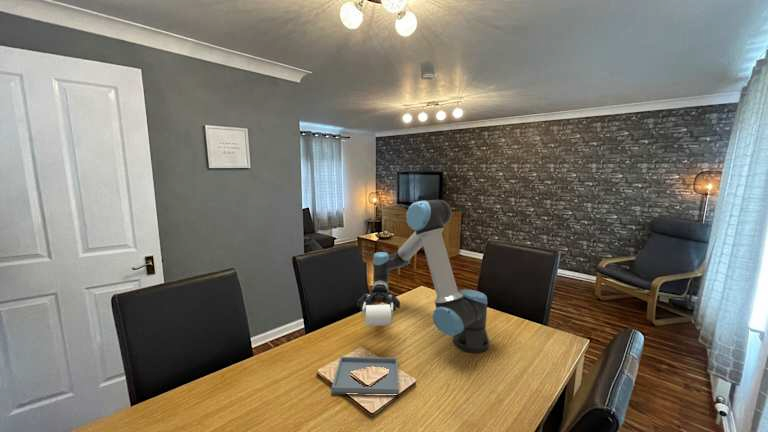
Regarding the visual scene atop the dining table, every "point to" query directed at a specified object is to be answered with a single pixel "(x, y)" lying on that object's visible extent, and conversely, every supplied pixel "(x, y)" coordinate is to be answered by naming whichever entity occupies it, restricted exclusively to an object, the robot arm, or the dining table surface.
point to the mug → (377, 315)
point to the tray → (347, 364)
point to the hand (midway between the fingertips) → (377, 312)
